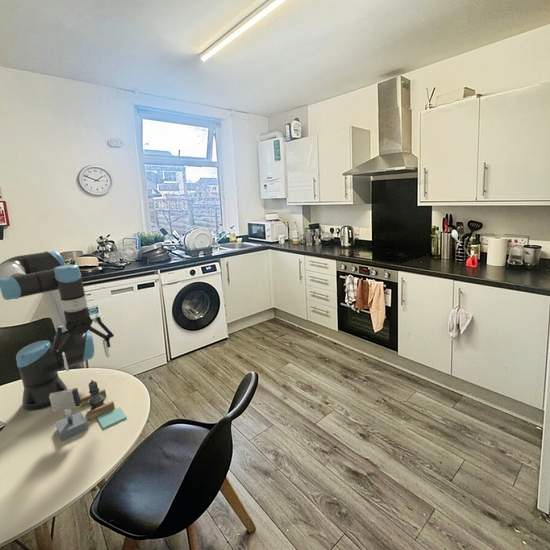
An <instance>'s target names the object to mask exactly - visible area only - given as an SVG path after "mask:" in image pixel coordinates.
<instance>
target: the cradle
mask: <svg viewBox="0 0 550 550" xmlns="http://www.w3.org/2000/svg"><path fill="white" fill-rule="evenodd" d="M99 394H100V395H104V396H105V398H106V397H108V396H107V393H106V390H105V388H103V389H101V390H100V389H99ZM90 398H91V395H90V394H88V395H86V396H83V397H81V398H80V401H81V404H80V406H81V407H82V408H83V407H85V406H88V405H89V404H88V400H89V399H90ZM114 409H116V407H115V403H114V401H113V400H112V401H109V402H107V403H105V405H102V406H100V407H98V408H95V409H93V410H89V411H86V414H87V419H88V421H91V420H93V419H94V420H95V419H97V417H98V416H100V415H103V414H105V413H107V412H110V411H112V410H114Z"/></svg>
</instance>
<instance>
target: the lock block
mask: <svg viewBox="0 0 550 550" xmlns="http://www.w3.org/2000/svg"><path fill="white" fill-rule="evenodd" d="M72 416H73V421H72V422H67V418H66V417H65V418H61V419H59V420H57V421H55V426H56V428H57V429H56V430H57V432H58V434H59V437H60V440H61V442H63V441H65V440H68V439H70V438H72V437H73V436H74V437H75V436H77V435H79V434H80V433H83V432H85V431H87V430H88V429H89V428H88V425H87V420H86V419H85V416H84V415H83V413H82V411H78V412H76V413H74V414H72Z"/></svg>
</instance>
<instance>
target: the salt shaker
mask: <svg viewBox="0 0 550 550" xmlns="http://www.w3.org/2000/svg"><path fill="white" fill-rule="evenodd" d="M88 389H89V391H88V393H89V395H91V398H90V399H89V400H88V405H89V407H90V410H93V409H95V408H98V407H100V406H102V405H105V404H106V403H105V398H106V397H105V396H104V395H100V394H99V391H100V388H99V386H98V381H95V380H93V379H91V381H90V382H89V383H88ZM90 410H89V411H90Z"/></svg>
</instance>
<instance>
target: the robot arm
mask: <svg viewBox="0 0 550 550" xmlns="http://www.w3.org/2000/svg"><path fill="white" fill-rule="evenodd" d="M0 293H1V297H2V299H3V300H6V301H10V300H17V299H20V298H26V297H30V296H34V295H38V294H42V295H43V297H44V301H45V304H46V306H47V309H48V312H49V315H50V318H51V321H52V323H53V327H54V329H55V335H54V338H53V342H50V340H47V339H46V340H44V339H43V340H38V341H35V342H32V343H30V344H28V345H26V346H24V347H22V348H21V349H20V350H19V351H18V352H17V353H16V356H15V359H16V366H17V368H18V370H19V371H18V372H19V374H20V378H21V381H22V384H23V385H22V386H23V392H22V394H23V395H22V400H21V402H22V407H23V408H24V410H27V411H38V410H42V409H46V408H49V407H52V406H51V402H50V398H49V395H50V393H54V392H59V391H64V390H68V387H67V385H66V384H65V383H64V382H63V380H62V379H61V377H60V376H59V373H58V372H59V371H62V370H65V371H66V372H69V371H70V369H69V367H72V366H76V365H78V364H81V363H85V362H87V361H88V360H89V361H90V360H91V359H93V358H94V356H95V344H94V338H93V337H94V336H93V335H92V333H93V334H94V335H97V336H98V337H100V338H102V339H101V340H102V344H103V349H104V354H105V356H106V358H110V353H109V349H108V348H111V341H110V339H111V338H113V337H114V336H115V334H114V333H112V331H111V330H110V329H109V328H108V327H107V326H106V325H105V324H104V322H102V319H101V317H100V316H99V315H95V317H92V318H91V315H90V311H89V307H88V302H87V297H86V292H85V288H84V283H83V279H82V273H81V270H80V267H79V265H77V264H65V260H64V259H63V256H62V255H61V254H60V253H59V252H58V251H55V250H51V251H50V250H49V251H47V250H46V251H43V252H42V251H41V252H38V253H37V252H36V253H30V254H22V255H16V256H13V257H11V258H8V259H6V260H4V261H2V262H1V263H0ZM93 322H94V323H95V324H98V325H99V327H101V328H102V329H103V330H104V331H105V332H106V334H105V333H103V332H101V331H100V330H99V329H96V328H94V327H93V326H92V324H93Z"/></svg>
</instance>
